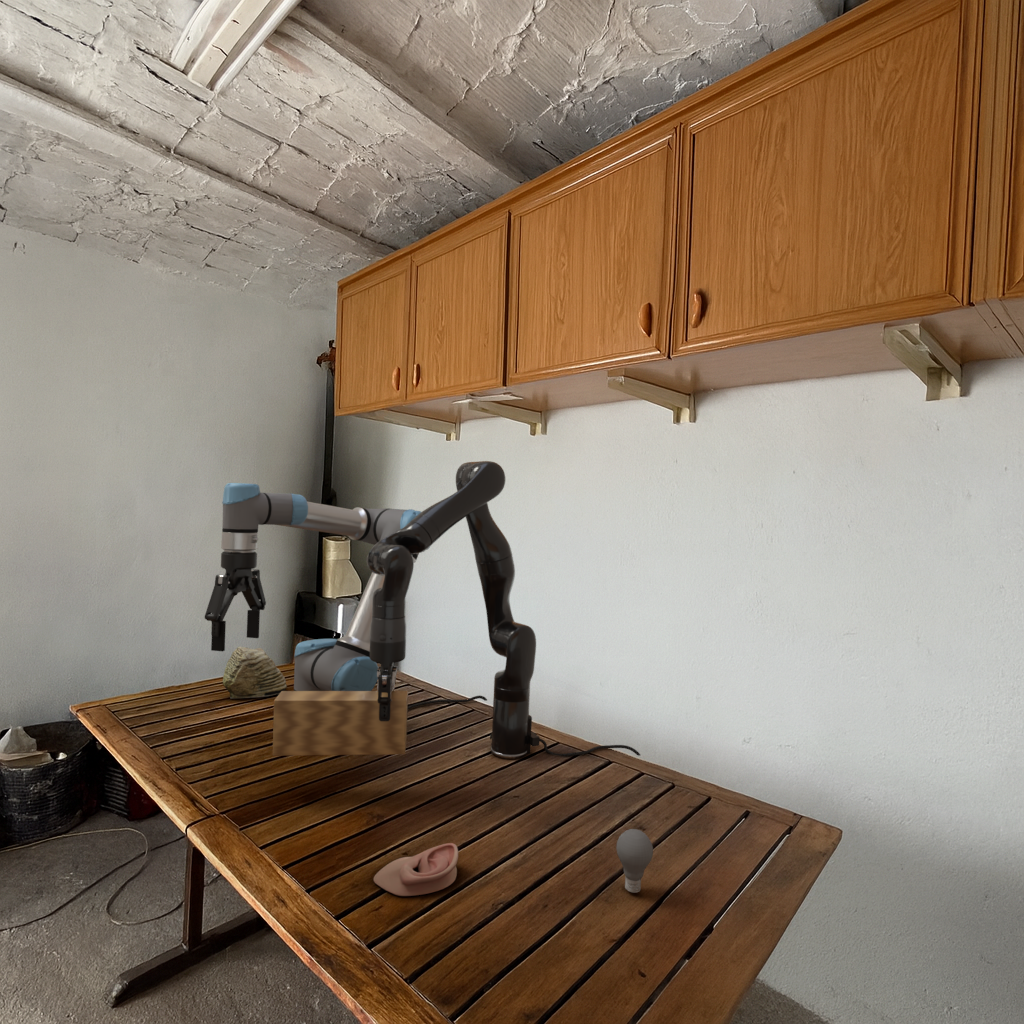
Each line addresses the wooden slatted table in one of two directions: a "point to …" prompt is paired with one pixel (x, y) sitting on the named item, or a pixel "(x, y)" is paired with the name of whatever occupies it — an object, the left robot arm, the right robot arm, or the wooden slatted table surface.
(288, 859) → the wooden slatted table surface
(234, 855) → the wooden slatted table surface
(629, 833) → the light bulb
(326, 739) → the box
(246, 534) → the left robot arm
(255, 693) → the fossil
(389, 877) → the anatomical model
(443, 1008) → the wooden slatted table surface
